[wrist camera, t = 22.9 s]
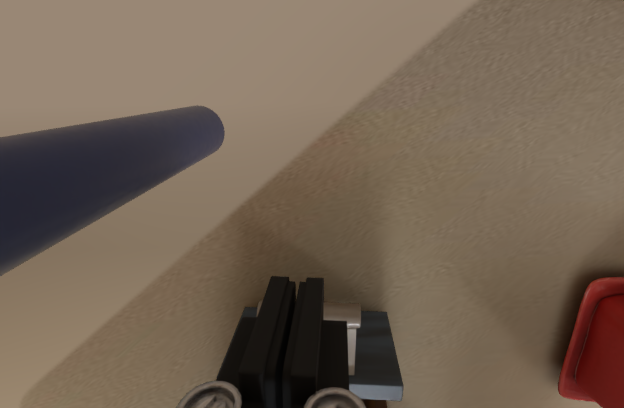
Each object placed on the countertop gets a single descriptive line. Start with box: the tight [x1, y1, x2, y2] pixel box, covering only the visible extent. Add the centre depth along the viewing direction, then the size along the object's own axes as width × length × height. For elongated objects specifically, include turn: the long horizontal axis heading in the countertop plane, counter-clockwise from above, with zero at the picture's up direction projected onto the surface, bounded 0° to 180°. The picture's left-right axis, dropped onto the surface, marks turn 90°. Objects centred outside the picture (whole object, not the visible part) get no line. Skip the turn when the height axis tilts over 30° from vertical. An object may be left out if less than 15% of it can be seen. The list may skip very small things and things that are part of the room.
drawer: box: [217, 300, 403, 408], centre depth 26 cm, size 17×11×7 cm, turn 0°
